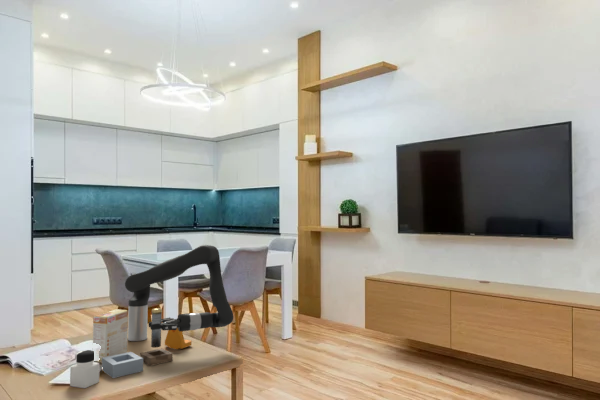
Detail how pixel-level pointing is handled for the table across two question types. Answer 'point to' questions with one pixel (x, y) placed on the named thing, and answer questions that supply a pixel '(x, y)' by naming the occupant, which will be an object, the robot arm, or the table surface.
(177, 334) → the bracket
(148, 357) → the socket block
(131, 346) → the table surface
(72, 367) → the medicine bottle
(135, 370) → the block
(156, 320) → the silver metal cylinder
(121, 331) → the coffeecake box
